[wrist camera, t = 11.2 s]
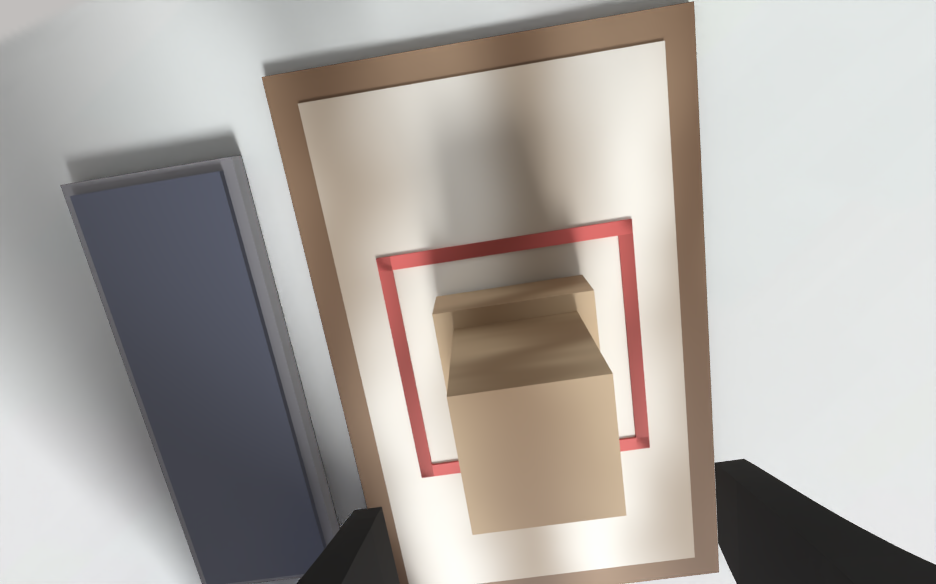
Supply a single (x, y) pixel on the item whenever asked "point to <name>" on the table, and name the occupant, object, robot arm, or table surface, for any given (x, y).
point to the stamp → (530, 405)
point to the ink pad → (210, 364)
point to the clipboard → (514, 271)
